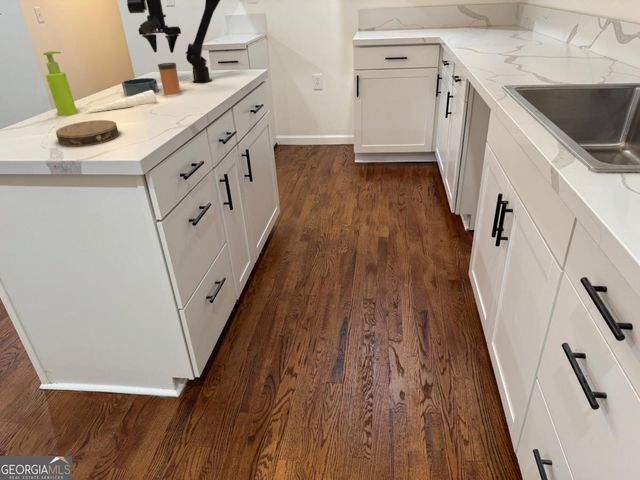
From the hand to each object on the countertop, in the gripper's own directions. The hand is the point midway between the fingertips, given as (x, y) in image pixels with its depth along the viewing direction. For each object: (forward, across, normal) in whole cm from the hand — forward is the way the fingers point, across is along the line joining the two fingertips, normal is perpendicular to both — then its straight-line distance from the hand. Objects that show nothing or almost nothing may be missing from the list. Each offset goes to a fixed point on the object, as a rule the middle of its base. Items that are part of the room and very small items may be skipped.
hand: (163, 52), depth 193 cm
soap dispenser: (+13, +2, -54) cm, 56 cm away
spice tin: (+13, +18, -18) cm, 29 cm away
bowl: (+13, +4, -21) cm, 25 cm away
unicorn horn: (+13, +17, -42) cm, 47 cm away
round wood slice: (+13, +36, -74) cm, 83 cm away
